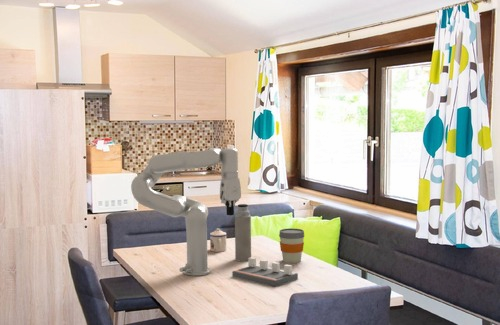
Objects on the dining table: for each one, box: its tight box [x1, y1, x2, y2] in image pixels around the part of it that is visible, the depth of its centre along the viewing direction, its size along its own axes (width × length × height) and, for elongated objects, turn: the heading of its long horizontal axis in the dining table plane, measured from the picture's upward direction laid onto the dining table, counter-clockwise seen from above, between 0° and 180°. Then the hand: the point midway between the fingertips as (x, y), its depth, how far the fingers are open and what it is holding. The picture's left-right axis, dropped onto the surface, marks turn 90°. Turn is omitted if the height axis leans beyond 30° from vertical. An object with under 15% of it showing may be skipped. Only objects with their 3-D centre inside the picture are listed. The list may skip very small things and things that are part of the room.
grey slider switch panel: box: [231, 256, 299, 288], centre depth 285 cm, size 16×25×7 cm, turn 49°
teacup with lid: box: [209, 228, 228, 253], centre depth 338 cm, size 12×9×12 cm
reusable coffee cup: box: [278, 227, 305, 264], centre depth 316 cm, size 12×13×15 cm
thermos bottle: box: [234, 203, 252, 262], centre depth 318 cm, size 8×8×28 cm
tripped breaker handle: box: [271, 261, 281, 272], centre depth 285 cm, size 2×3×4 cm, turn 49°
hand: (230, 214), depth 292 cm, fingers closed
